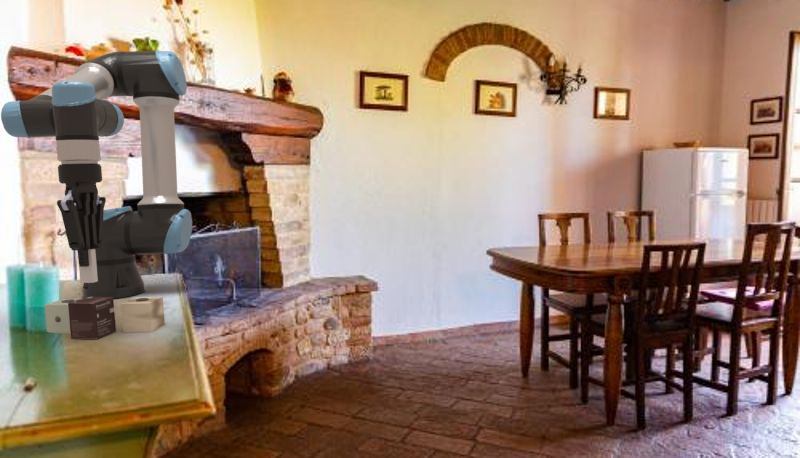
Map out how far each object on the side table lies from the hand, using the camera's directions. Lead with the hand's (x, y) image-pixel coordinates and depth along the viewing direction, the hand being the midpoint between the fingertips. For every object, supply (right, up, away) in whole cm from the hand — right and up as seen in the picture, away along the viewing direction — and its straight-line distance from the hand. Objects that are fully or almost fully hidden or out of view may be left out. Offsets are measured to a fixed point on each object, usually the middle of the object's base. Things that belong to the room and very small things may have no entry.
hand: (89, 281), depth 120 cm
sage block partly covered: (-7, -11, +7) cm, 15 cm away
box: (0, -11, +1) cm, 11 cm away
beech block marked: (+9, -10, +6) cm, 15 cm away
